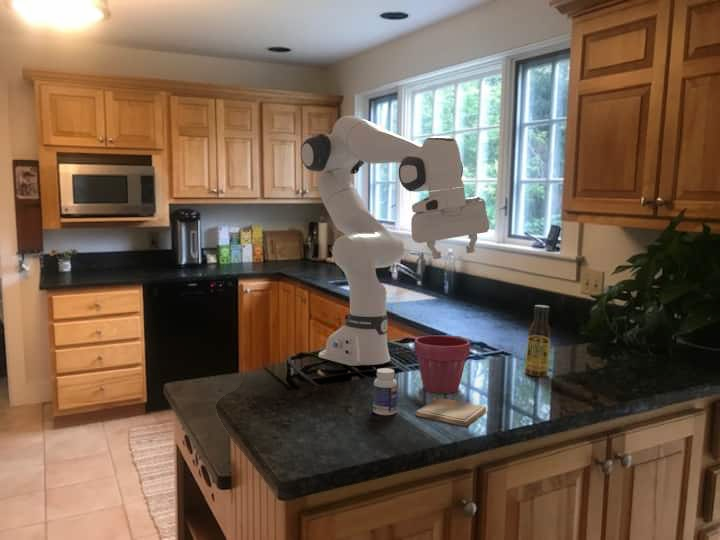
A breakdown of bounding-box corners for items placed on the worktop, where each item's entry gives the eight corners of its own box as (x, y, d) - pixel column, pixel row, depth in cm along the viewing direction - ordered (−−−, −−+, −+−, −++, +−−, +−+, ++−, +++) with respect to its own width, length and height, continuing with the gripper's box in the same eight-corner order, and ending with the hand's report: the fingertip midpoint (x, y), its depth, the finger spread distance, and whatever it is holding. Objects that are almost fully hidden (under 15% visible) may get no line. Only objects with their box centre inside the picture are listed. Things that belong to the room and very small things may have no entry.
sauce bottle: (523, 376, 169) (526, 306, 167) (526, 370, 175) (529, 303, 173) (547, 379, 167) (551, 308, 165) (549, 373, 173) (553, 305, 170)
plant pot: (436, 377, 166) (437, 332, 165) (479, 389, 156) (481, 340, 155) (402, 387, 156) (403, 339, 155) (445, 400, 146) (447, 349, 145)
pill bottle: (394, 416, 134) (395, 374, 133) (371, 414, 135) (371, 372, 134) (398, 409, 140) (399, 368, 139) (375, 407, 141) (376, 366, 140)
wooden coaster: (416, 415, 136) (416, 410, 135) (438, 401, 146) (438, 396, 146) (466, 426, 129) (466, 421, 129) (485, 411, 139) (486, 406, 139)
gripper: (478, 196, 156) (484, 249, 158) (405, 206, 150) (412, 261, 152) (490, 195, 150) (496, 249, 152) (415, 205, 144) (422, 262, 146)
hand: (454, 255), depth 152 cm, fingers open, 8 cm apart
